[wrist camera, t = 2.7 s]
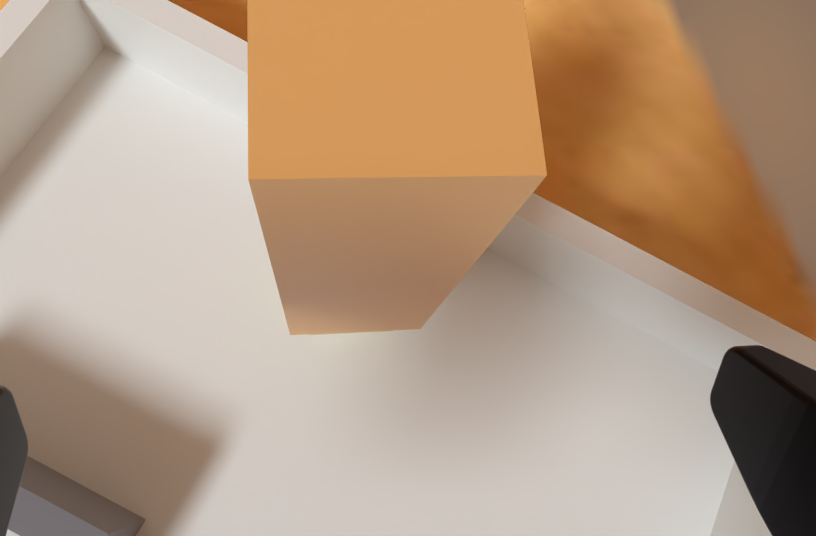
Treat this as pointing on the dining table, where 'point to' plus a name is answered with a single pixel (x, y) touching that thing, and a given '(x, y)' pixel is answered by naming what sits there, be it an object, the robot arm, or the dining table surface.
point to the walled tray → (317, 354)
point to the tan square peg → (386, 150)
